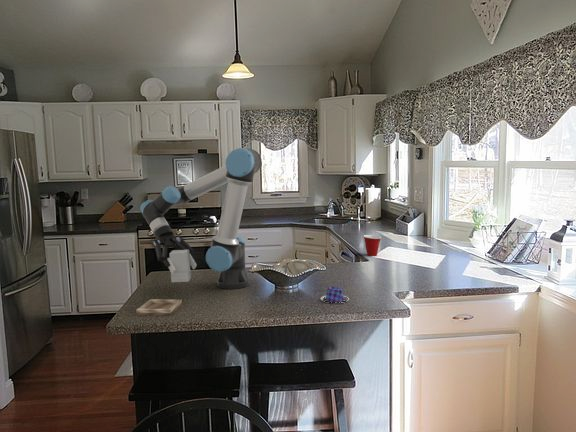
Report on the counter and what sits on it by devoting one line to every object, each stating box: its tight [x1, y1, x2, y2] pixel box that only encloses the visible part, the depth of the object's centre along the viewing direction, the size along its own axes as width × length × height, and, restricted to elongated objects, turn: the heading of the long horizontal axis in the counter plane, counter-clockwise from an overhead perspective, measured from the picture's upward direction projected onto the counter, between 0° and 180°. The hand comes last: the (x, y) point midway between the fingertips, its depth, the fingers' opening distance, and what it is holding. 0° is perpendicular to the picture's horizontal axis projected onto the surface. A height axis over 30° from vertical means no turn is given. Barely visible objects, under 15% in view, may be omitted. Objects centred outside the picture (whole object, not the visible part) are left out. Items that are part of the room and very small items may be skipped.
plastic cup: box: [363, 234, 382, 257], centre depth 283 cm, size 11×11×12 cm
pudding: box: [319, 286, 350, 304], centre depth 195 cm, size 12×12×5 cm
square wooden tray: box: [135, 298, 184, 316], centre depth 187 cm, size 14×14×2 cm
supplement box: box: [169, 249, 192, 283], centre depth 201 cm, size 7×7×13 cm
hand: (184, 269), depth 199 cm, fingers closed on supplement box, 10 cm apart
